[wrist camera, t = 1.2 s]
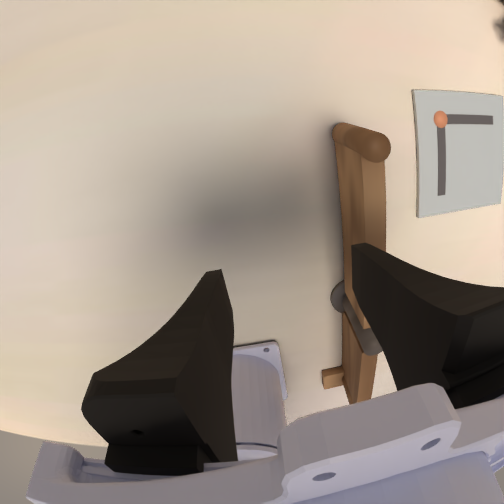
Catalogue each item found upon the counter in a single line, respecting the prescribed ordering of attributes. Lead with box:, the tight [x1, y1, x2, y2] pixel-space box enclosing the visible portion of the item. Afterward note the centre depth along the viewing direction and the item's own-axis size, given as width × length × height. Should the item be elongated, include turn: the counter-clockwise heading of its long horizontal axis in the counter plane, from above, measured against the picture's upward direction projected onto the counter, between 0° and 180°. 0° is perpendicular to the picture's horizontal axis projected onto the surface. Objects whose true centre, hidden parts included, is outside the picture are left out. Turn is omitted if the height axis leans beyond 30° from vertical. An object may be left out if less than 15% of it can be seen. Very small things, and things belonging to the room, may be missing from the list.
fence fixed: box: [322, 280, 378, 404], centre depth 23 cm, size 5×12×6 cm, turn 10°
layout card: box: [412, 90, 504, 218], centre depth 18 cm, size 9×9×1 cm
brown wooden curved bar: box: [332, 123, 391, 356], centre depth 18 cm, size 14×2×5 cm, turn 10°
